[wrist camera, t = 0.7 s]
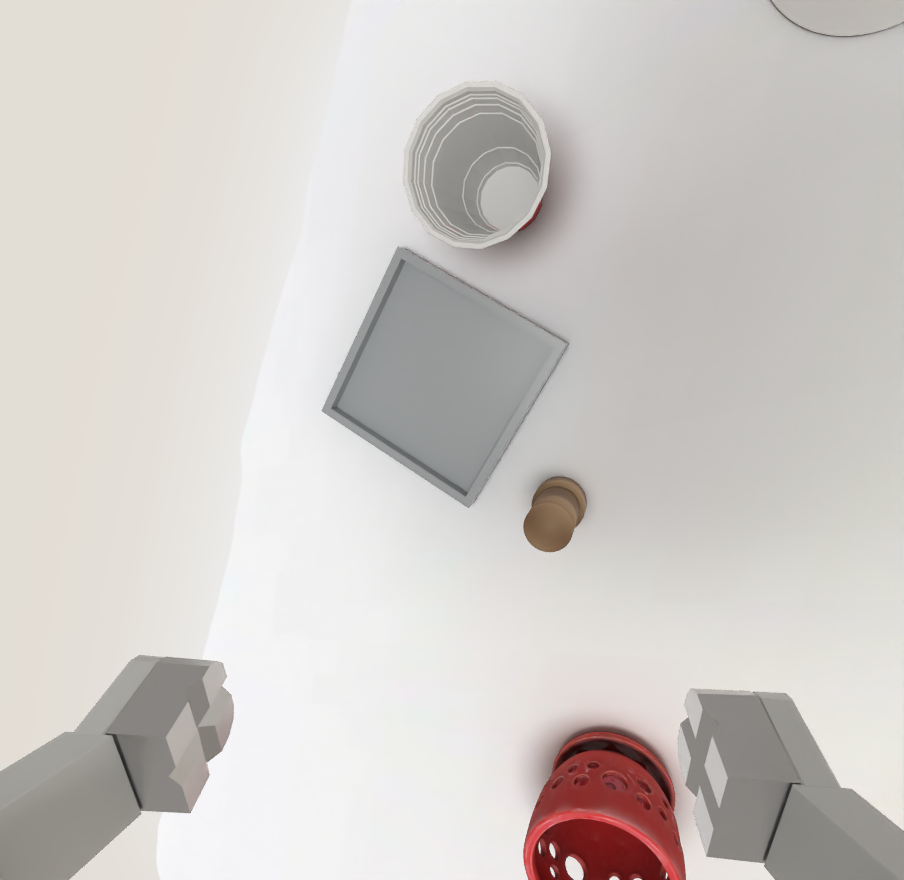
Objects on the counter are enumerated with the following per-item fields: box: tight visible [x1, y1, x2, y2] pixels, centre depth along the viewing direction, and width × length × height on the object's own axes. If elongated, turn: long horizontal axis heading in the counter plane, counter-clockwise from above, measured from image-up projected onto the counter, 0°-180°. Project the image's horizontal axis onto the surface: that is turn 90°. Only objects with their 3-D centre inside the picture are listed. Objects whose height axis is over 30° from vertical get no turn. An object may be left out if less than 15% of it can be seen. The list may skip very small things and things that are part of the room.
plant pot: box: [523, 732, 686, 880], centre depth 52 cm, size 13×13×12 cm
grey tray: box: [322, 247, 569, 508], centre depth 55 cm, size 18×18×2 cm
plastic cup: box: [403, 81, 551, 249], centre depth 45 cm, size 11×11×12 cm
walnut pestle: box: [524, 477, 586, 552], centre depth 51 cm, size 5×5×8 cm
